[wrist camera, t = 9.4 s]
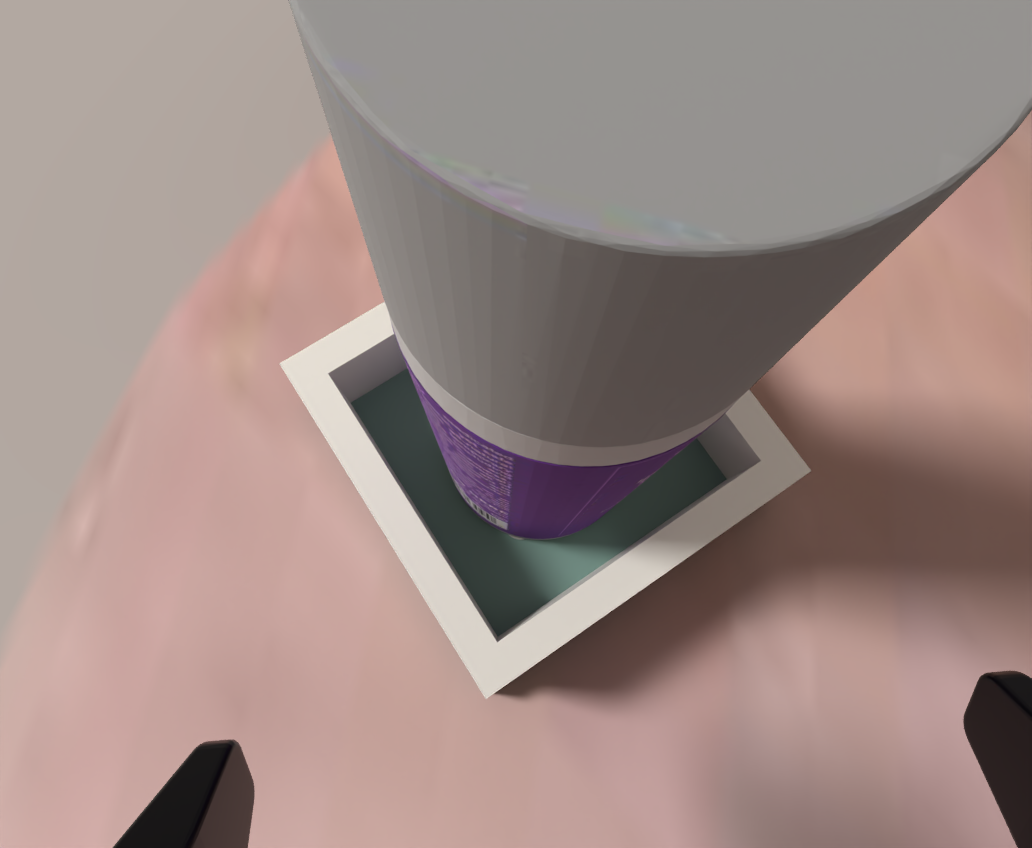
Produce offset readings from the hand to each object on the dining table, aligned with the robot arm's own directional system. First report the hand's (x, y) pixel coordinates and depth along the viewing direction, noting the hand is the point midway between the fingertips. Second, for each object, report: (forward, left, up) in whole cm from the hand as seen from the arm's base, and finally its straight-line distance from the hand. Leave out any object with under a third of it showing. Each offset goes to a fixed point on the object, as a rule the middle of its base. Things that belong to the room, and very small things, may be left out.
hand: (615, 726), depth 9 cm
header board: (+5, -3, -10) cm, 11 cm away
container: (+5, -3, -9) cm, 10 cm away
